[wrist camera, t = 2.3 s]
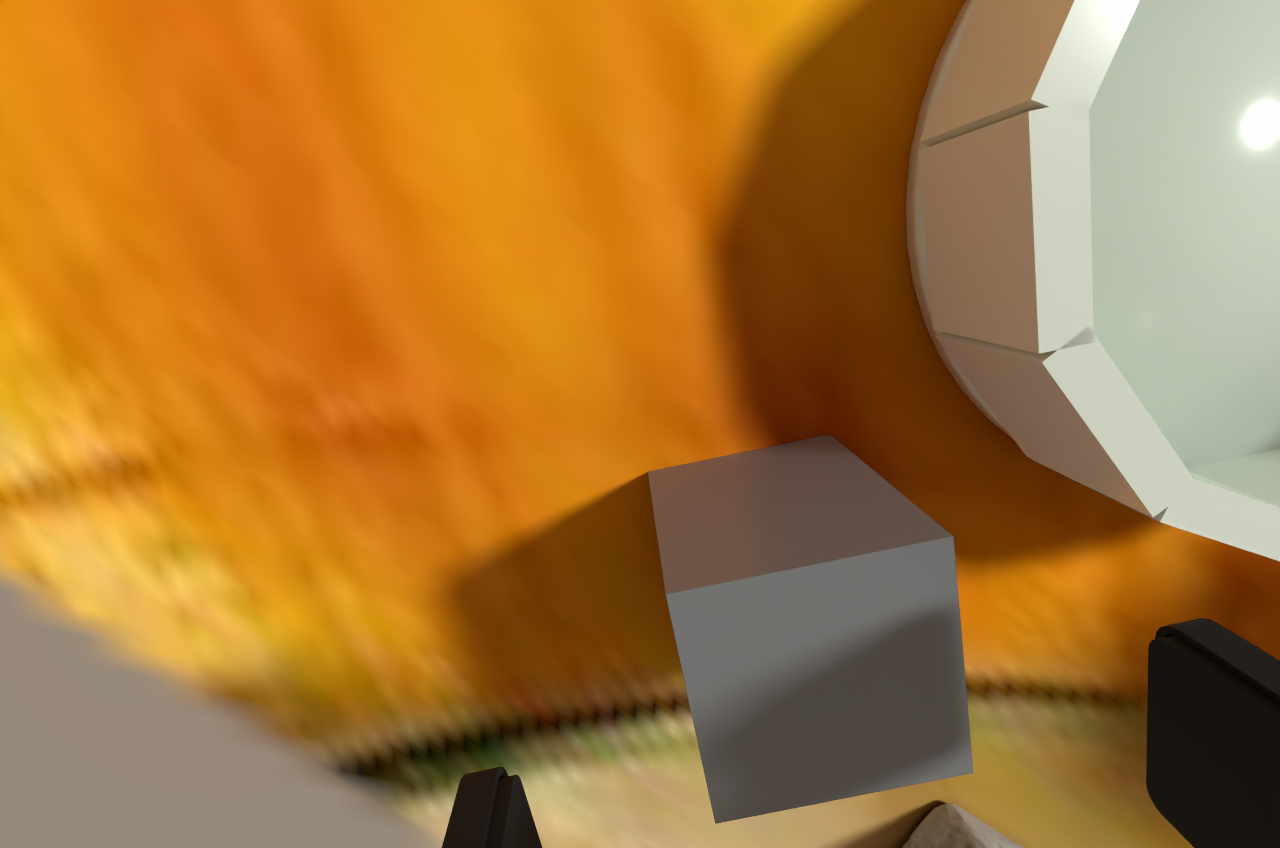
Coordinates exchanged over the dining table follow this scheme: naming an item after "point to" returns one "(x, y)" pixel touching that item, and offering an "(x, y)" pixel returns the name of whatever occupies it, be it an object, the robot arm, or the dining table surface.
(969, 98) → the bowl
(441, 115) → the dining table surface
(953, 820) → the decorative stone
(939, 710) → the matte grey cube
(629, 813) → the dining table surface
